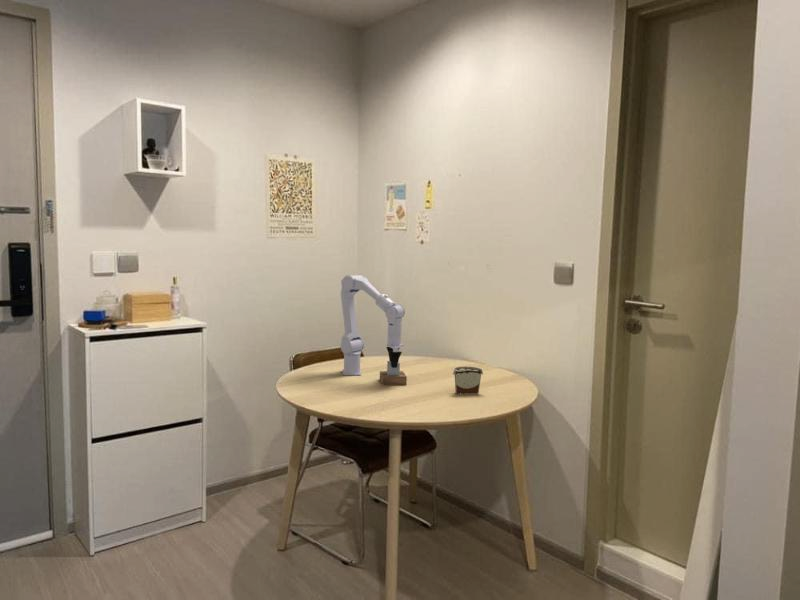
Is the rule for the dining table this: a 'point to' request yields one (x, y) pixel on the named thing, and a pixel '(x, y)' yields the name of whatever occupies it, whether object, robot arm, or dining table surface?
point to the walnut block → (393, 378)
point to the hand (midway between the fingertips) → (393, 365)
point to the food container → (467, 379)
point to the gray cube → (393, 369)
